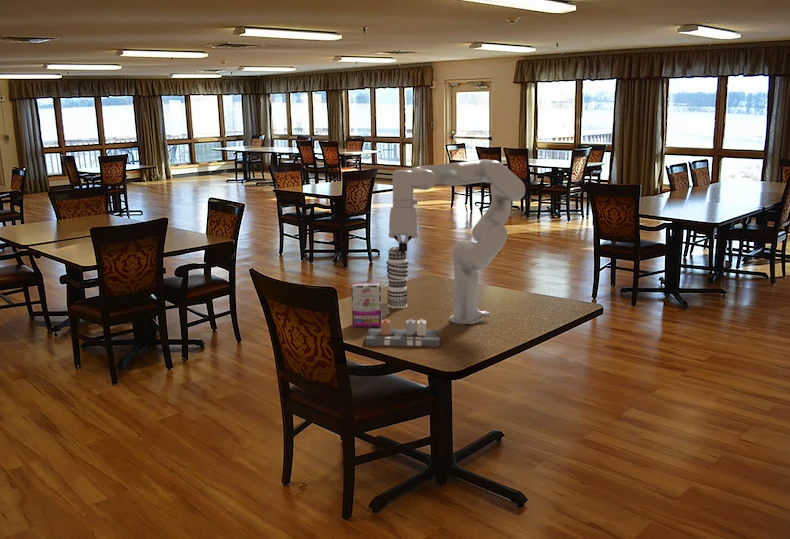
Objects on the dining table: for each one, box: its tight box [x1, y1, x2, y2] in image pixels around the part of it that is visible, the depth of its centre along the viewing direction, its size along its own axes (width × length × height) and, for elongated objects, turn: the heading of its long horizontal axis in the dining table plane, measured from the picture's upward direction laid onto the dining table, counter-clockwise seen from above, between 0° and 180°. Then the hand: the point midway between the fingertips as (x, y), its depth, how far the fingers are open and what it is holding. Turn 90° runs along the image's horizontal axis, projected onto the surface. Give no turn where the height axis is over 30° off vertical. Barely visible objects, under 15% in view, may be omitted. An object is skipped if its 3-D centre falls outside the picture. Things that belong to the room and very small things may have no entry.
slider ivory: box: [416, 318, 427, 336], centre depth 259 cm, size 3×4×5 cm
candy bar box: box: [351, 282, 383, 328], centre depth 277 cm, size 11×5×16 cm, turn 90°
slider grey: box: [405, 318, 416, 336], centre depth 259 cm, size 3×4×5 cm
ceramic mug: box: [381, 299, 390, 320], centre depth 291 cm, size 11×8×8 cm
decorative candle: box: [386, 246, 409, 309], centre depth 304 cm, size 9×9×25 cm
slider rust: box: [380, 317, 392, 335], centre depth 260 cm, size 3×4×5 cm
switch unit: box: [365, 328, 441, 348], centre depth 260 cm, size 26×12×3 cm, turn 86°
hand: (403, 253), depth 269 cm, fingers closed
